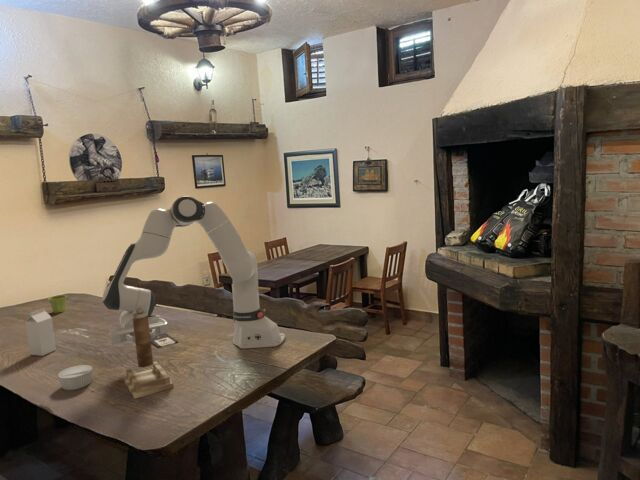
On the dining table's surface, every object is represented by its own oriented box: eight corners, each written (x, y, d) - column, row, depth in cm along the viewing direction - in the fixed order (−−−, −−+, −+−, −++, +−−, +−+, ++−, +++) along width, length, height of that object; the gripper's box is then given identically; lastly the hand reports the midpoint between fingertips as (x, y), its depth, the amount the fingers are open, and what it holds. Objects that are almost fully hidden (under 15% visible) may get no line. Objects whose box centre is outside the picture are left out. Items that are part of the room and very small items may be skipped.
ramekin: (70, 394, 161) (68, 380, 160) (53, 388, 167) (51, 374, 166) (100, 381, 171) (98, 367, 170) (82, 376, 176) (81, 362, 176)
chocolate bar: (164, 332, 221) (178, 341, 207) (164, 333, 221) (178, 343, 207) (144, 336, 216) (157, 346, 201) (144, 338, 216) (158, 348, 202)
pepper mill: (155, 361, 167) (149, 305, 164) (148, 367, 162) (141, 310, 159) (143, 361, 168) (136, 306, 165) (135, 367, 163) (128, 310, 160)
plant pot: (57, 309, 277) (55, 295, 275) (72, 309, 275) (70, 294, 274) (46, 314, 267) (44, 299, 266) (61, 314, 266) (59, 299, 265)
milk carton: (56, 350, 206) (50, 308, 204) (42, 356, 200) (35, 313, 197) (44, 349, 209) (38, 307, 206) (30, 355, 202) (23, 312, 199)
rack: (124, 380, 170) (122, 370, 169) (160, 370, 177) (159, 360, 176) (134, 398, 155) (132, 387, 154) (173, 387, 162) (172, 376, 161)
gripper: (104, 325, 169) (109, 335, 157) (162, 314, 179) (171, 322, 167) (106, 342, 170) (111, 353, 158) (164, 329, 180) (173, 339, 168)
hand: (143, 337), depth 163 cm, fingers closed on pepper mill, 5 cm apart
